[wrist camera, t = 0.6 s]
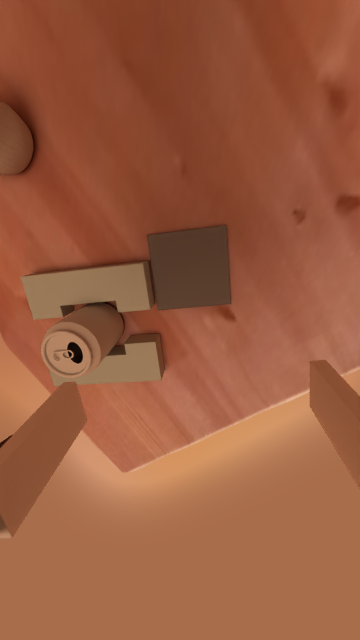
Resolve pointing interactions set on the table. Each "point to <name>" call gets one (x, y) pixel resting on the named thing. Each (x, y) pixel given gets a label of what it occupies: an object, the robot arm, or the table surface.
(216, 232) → the coaster
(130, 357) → the pocket block
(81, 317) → the can
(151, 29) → the table surface
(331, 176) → the table surface
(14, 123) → the decorative ornament
